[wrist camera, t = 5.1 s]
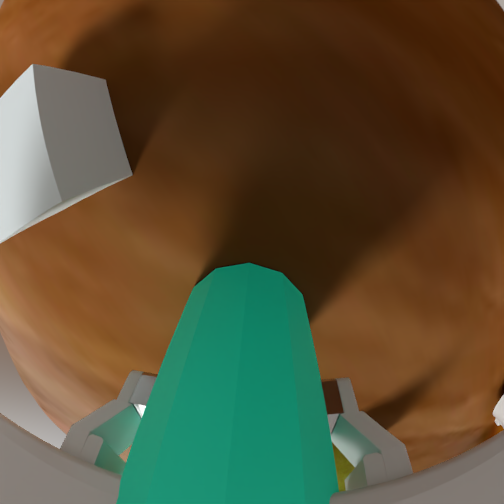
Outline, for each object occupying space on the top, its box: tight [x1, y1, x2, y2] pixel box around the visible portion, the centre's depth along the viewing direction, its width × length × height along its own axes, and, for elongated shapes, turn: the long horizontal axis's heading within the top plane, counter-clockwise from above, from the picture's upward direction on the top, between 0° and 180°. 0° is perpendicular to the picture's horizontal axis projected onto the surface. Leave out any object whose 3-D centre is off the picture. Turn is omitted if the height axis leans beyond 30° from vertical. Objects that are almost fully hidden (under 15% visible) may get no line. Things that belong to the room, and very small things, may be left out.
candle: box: [116, 263, 339, 504], centre depth 8 cm, size 6×6×12 cm
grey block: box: [0, 64, 133, 243], centre depth 8 cm, size 5×5×5 cm
